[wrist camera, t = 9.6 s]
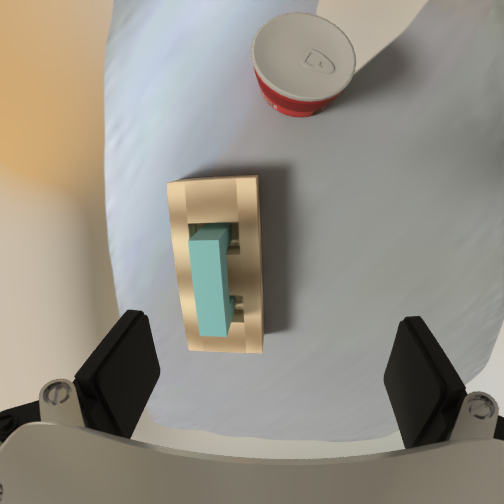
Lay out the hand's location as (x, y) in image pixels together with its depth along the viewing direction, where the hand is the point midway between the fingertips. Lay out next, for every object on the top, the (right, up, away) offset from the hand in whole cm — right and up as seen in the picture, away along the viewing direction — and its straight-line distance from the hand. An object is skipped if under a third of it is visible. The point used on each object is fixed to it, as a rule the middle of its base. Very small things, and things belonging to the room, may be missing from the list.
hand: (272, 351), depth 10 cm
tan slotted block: (-4, +2, +25) cm, 25 cm away
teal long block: (-4, +2, +24) cm, 25 cm away
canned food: (+4, +22, +18) cm, 28 cm away
